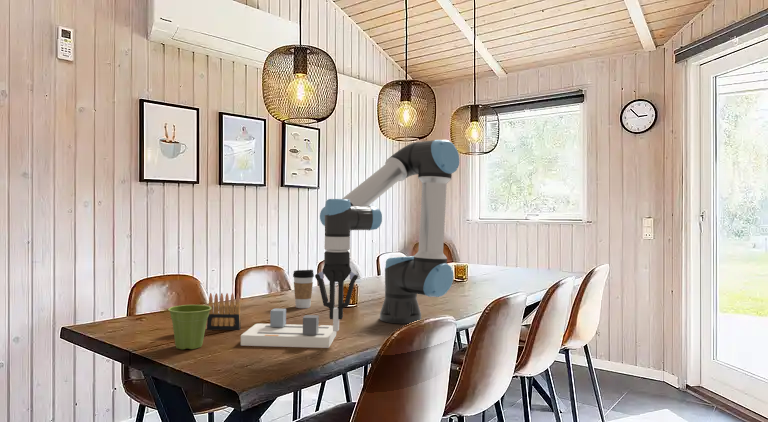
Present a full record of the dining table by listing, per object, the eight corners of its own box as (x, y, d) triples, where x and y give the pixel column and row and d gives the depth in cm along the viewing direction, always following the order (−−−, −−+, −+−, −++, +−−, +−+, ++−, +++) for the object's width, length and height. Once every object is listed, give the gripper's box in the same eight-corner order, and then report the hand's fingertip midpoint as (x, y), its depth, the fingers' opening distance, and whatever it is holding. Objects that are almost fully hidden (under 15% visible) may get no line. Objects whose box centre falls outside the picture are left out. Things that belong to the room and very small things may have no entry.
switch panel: (336, 334, 174) (336, 325, 174) (328, 347, 158) (328, 337, 158) (256, 332, 176) (256, 323, 176) (240, 345, 160) (240, 334, 160)
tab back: (285, 324, 174) (286, 308, 174) (282, 327, 170) (283, 311, 170) (273, 324, 174) (273, 308, 174) (270, 326, 170) (270, 310, 170)
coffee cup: (309, 309, 216) (309, 271, 216) (289, 308, 218) (289, 270, 218) (316, 305, 225) (316, 269, 225) (296, 304, 226) (297, 268, 226)
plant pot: (198, 353, 151) (199, 312, 151) (159, 351, 153) (159, 310, 153) (218, 343, 162) (218, 305, 162) (181, 340, 164) (181, 303, 164)
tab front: (318, 331, 164) (318, 315, 164) (316, 334, 160) (316, 318, 160) (305, 331, 164) (305, 314, 164) (302, 334, 160) (302, 317, 160)
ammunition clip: (240, 328, 182) (241, 292, 181) (239, 329, 180) (240, 293, 180) (208, 328, 181) (208, 292, 181) (206, 329, 179) (207, 293, 179)
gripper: (360, 250, 165) (359, 327, 165) (317, 249, 166) (316, 326, 166) (357, 252, 158) (356, 333, 158) (313, 251, 158) (311, 332, 158)
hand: (336, 330), depth 162 cm, fingers closed
